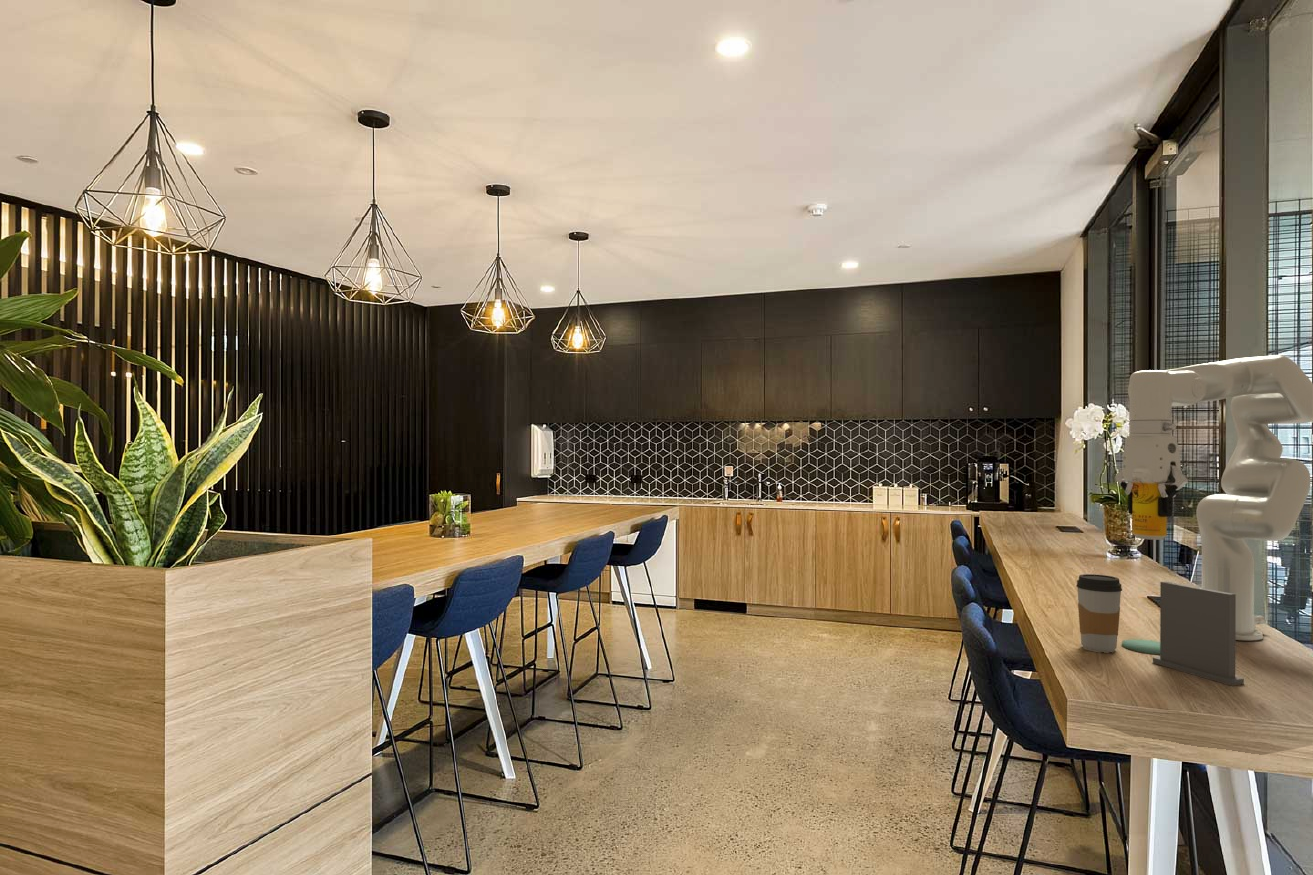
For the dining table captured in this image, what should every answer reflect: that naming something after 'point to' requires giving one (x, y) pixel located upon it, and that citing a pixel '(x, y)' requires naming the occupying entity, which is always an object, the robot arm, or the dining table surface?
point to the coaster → (1142, 646)
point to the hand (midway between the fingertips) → (1149, 514)
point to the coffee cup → (1099, 611)
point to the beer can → (1146, 507)
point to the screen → (1198, 632)
